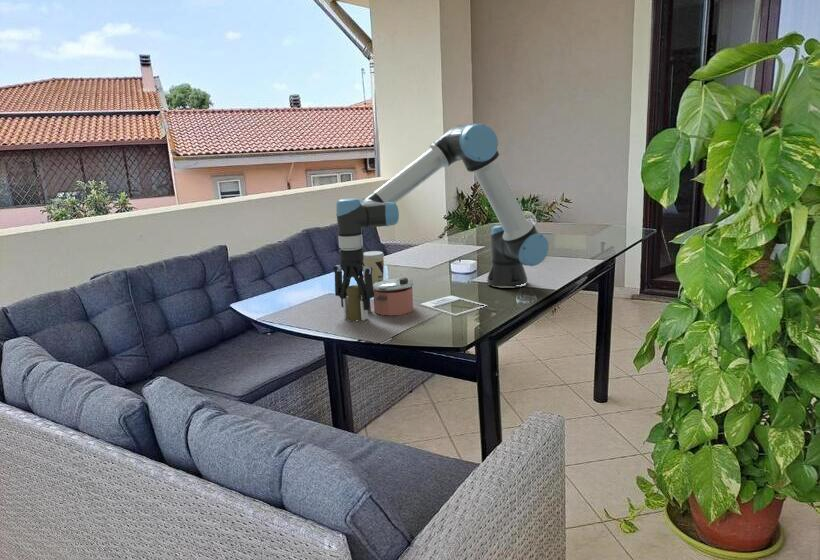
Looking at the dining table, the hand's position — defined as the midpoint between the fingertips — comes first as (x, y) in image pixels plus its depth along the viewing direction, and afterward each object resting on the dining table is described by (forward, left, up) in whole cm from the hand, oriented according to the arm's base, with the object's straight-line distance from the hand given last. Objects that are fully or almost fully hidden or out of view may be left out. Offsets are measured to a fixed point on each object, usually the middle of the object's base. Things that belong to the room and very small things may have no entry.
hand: (356, 317), depth 186 cm
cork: (0, 0, 0) cm, 1 cm away
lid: (-7, -13, +8) cm, 17 cm away
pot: (-7, -13, 0) cm, 14 cm away
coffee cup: (+20, -44, 0) cm, 48 cm away
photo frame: (-24, -24, -1) cm, 34 cm away
